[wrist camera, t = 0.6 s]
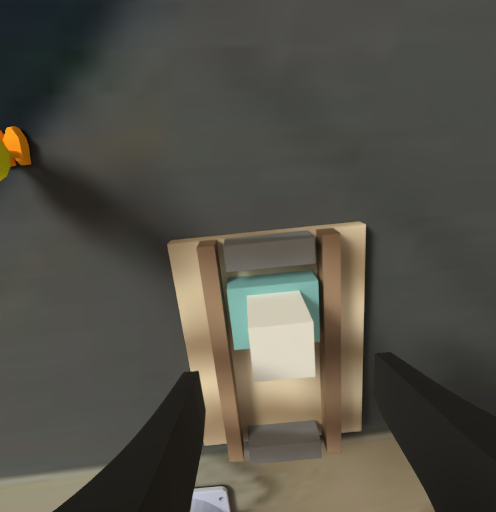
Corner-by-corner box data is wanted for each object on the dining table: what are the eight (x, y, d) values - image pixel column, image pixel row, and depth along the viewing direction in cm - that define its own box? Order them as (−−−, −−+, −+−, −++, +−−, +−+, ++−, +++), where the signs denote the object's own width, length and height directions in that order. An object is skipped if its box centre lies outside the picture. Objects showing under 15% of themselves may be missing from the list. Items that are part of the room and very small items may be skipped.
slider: (313, 326, 19) (337, 382, 14) (235, 333, 20) (232, 392, 14) (311, 269, 18) (337, 309, 13) (227, 277, 18) (222, 321, 13)
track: (356, 420, 23) (371, 453, 21) (206, 434, 23) (201, 468, 21) (359, 221, 19) (379, 230, 16) (170, 240, 19) (158, 252, 16)
